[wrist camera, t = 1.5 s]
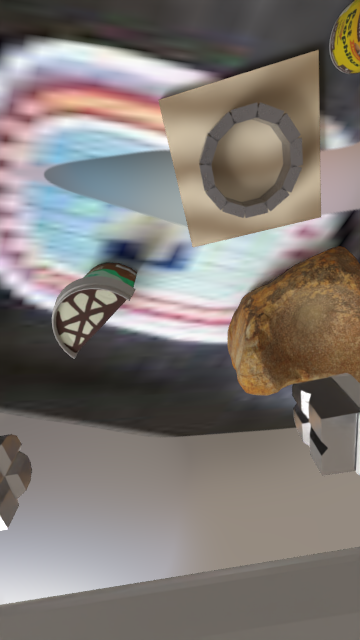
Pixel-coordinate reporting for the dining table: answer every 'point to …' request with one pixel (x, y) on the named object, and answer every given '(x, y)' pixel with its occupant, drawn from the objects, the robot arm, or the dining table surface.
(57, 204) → the dining table surface
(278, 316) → the rough brown rock
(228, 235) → the birch board
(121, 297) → the food container
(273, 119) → the grey segmented ring
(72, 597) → the robot arm
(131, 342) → the dining table surface
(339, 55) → the supplement bottle
